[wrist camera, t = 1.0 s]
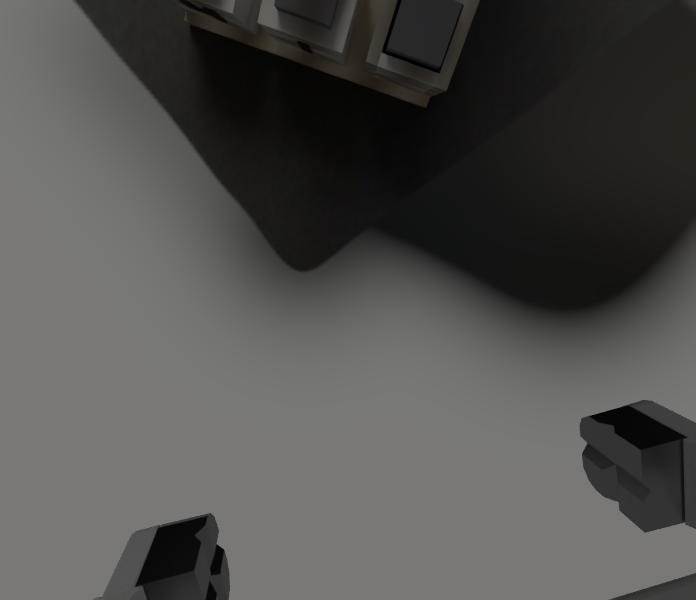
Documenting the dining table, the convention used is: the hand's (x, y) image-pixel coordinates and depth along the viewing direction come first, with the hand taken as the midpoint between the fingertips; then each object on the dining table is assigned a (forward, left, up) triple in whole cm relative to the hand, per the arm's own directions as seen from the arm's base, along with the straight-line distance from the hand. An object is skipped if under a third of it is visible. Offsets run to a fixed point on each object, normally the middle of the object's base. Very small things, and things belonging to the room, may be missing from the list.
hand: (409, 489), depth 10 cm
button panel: (-18, -1, -44) cm, 47 cm away
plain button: (-13, +7, -39) cm, 41 cm away
